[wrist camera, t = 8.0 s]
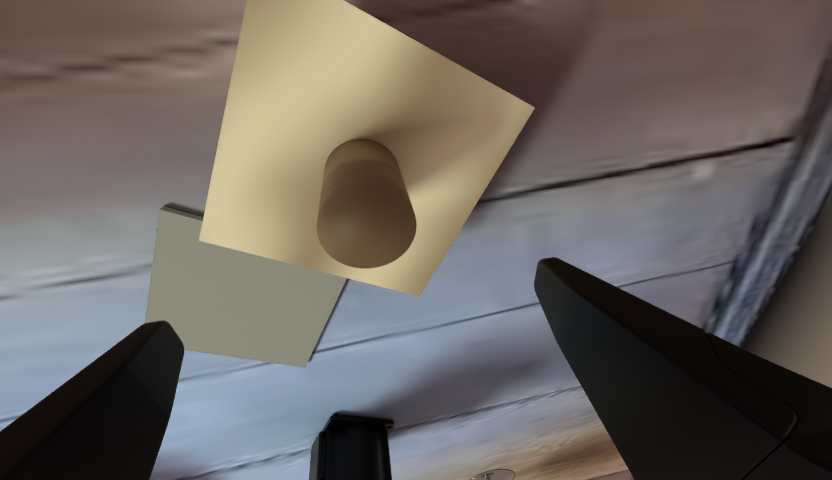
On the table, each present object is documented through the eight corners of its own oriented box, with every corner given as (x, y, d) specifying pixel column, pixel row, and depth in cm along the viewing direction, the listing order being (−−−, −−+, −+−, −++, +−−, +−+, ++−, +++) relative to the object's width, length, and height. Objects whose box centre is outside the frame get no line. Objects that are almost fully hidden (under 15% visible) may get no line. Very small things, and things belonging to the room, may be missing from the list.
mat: (354, 258, 23) (354, 262, 23) (305, 363, 28) (305, 367, 27) (163, 206, 19) (159, 209, 18) (145, 339, 24) (142, 343, 23)
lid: (526, 103, 15) (598, 140, 11) (417, 287, 20) (436, 362, 16) (261, -45, 11) (208, -82, 7) (205, 230, 16) (152, 312, 11)
